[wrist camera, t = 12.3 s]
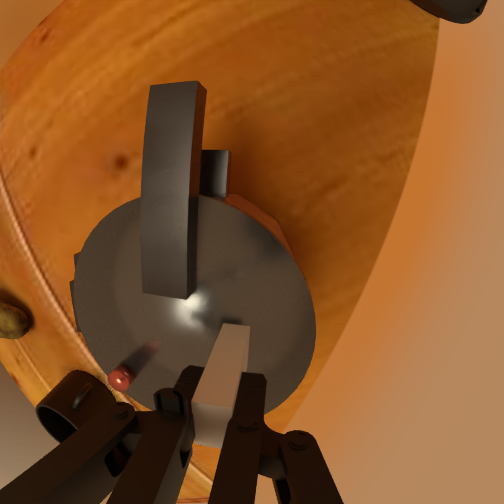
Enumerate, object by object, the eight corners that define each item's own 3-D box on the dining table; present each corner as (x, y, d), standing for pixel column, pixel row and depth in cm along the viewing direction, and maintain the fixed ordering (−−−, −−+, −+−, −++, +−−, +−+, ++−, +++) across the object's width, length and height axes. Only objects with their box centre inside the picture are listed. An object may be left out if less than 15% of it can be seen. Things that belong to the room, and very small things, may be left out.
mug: (131, 389, 33) (101, 433, 24) (109, 425, 35) (85, 463, 27) (76, 347, 32) (38, 381, 23) (63, 390, 35) (34, 422, 26)
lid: (337, 101, 14) (346, 87, 11) (294, 429, 19) (293, 454, 16) (78, 112, 16) (54, 106, 13) (98, 387, 21) (83, 404, 18)
